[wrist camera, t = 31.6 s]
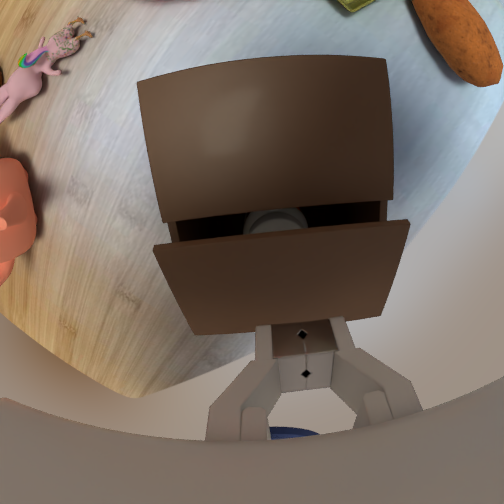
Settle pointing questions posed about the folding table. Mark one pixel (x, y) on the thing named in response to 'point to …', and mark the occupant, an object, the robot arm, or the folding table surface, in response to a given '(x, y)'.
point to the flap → (283, 275)
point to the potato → (461, 39)
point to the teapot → (14, 215)
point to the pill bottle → (274, 220)
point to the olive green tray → (354, 4)
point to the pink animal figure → (37, 68)
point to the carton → (269, 142)
